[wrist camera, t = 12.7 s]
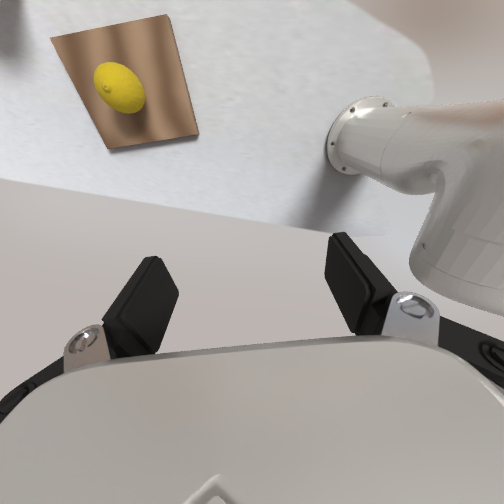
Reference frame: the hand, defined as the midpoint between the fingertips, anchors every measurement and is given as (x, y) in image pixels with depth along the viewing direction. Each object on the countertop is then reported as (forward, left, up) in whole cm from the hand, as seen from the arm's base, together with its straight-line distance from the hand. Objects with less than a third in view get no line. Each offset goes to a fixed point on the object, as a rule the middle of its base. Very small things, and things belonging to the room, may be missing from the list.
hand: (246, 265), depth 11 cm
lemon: (+16, -12, -32) cm, 38 cm away
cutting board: (+16, -12, -33) cm, 39 cm away
